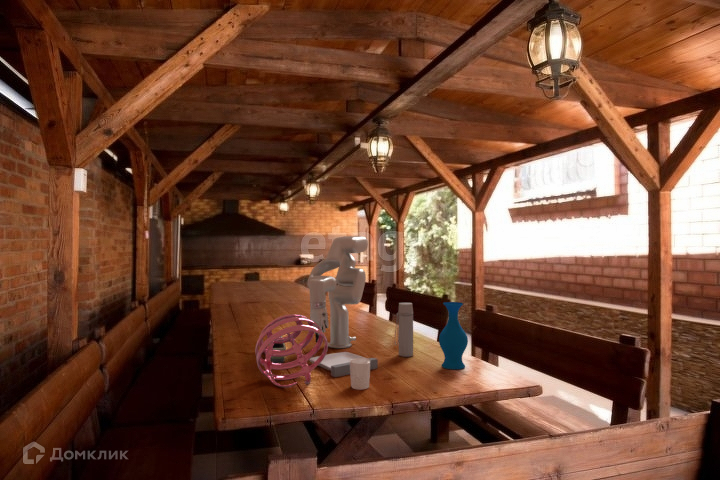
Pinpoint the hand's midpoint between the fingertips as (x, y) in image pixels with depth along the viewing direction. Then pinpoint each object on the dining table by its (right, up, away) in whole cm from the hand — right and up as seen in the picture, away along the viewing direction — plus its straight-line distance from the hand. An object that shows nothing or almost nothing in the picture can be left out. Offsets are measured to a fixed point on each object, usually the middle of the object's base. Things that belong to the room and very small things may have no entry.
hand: (319, 342), depth 225 cm
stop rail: (+17, -7, -26) cm, 32 cm away
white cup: (+19, -7, -46) cm, 51 cm away
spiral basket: (-7, -7, -40) cm, 41 cm away
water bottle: (+41, -7, +1) cm, 41 cm away
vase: (+60, -7, -19) cm, 64 cm away
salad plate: (+10, -7, -16) cm, 21 cm away
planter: (-21, -7, 0) cm, 22 cm away
